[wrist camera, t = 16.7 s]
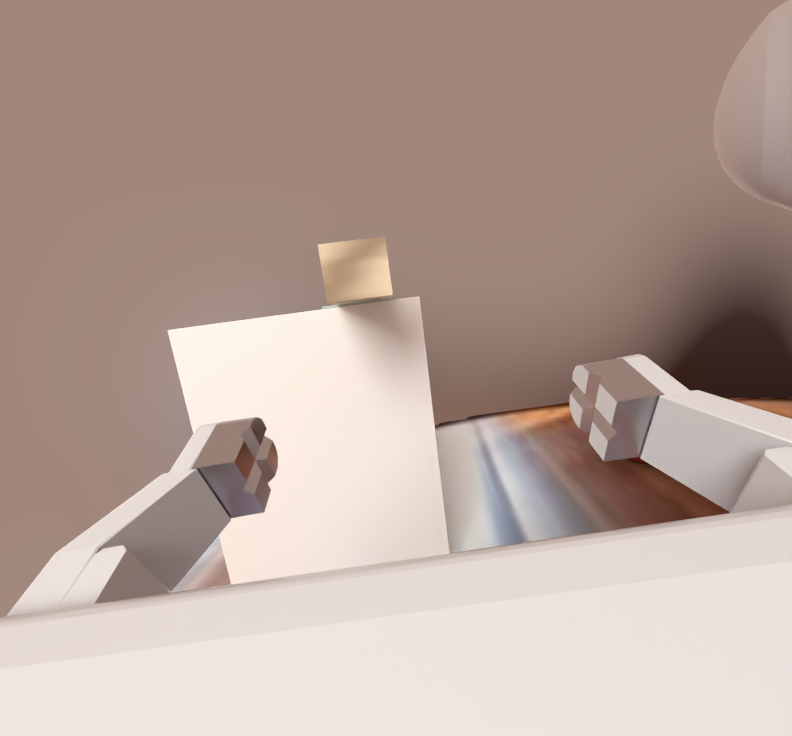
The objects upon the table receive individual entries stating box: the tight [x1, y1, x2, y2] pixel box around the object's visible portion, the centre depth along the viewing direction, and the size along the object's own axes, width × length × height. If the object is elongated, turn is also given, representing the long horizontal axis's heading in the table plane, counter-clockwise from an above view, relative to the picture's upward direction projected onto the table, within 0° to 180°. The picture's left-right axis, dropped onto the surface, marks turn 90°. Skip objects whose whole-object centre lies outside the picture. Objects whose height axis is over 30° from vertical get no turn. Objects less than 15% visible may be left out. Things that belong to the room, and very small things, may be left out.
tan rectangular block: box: [318, 237, 392, 305], centre depth 30 cm, size 4×24×3 cm, turn 7°
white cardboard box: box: [168, 297, 450, 584], centre depth 37 cm, size 20×14×26 cm
